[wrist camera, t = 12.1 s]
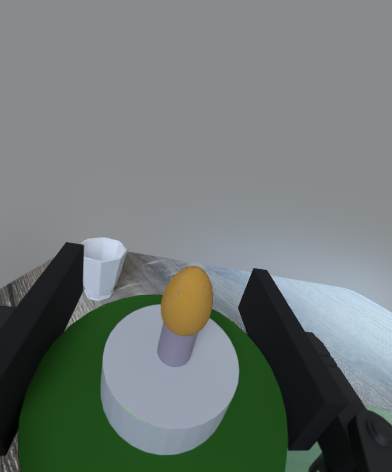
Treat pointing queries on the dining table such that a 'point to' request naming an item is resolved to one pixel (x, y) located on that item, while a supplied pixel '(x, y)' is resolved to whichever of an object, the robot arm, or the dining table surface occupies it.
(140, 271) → the dining table surface
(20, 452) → the candle
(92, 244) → the cup
